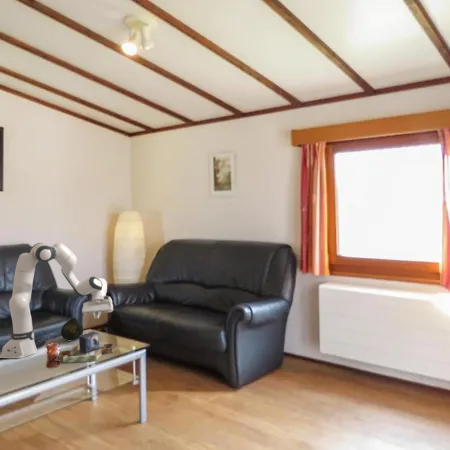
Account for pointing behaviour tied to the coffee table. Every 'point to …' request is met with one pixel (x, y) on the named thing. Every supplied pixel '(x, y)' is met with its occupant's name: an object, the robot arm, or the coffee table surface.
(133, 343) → the coffee table surface
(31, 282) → the robot arm
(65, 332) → the squash
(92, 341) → the small box
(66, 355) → the trap lane
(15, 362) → the coffee table surface
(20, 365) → the coffee table surface
